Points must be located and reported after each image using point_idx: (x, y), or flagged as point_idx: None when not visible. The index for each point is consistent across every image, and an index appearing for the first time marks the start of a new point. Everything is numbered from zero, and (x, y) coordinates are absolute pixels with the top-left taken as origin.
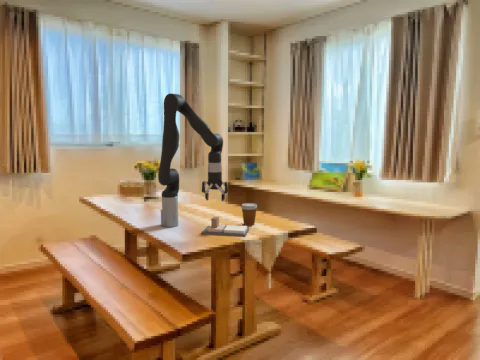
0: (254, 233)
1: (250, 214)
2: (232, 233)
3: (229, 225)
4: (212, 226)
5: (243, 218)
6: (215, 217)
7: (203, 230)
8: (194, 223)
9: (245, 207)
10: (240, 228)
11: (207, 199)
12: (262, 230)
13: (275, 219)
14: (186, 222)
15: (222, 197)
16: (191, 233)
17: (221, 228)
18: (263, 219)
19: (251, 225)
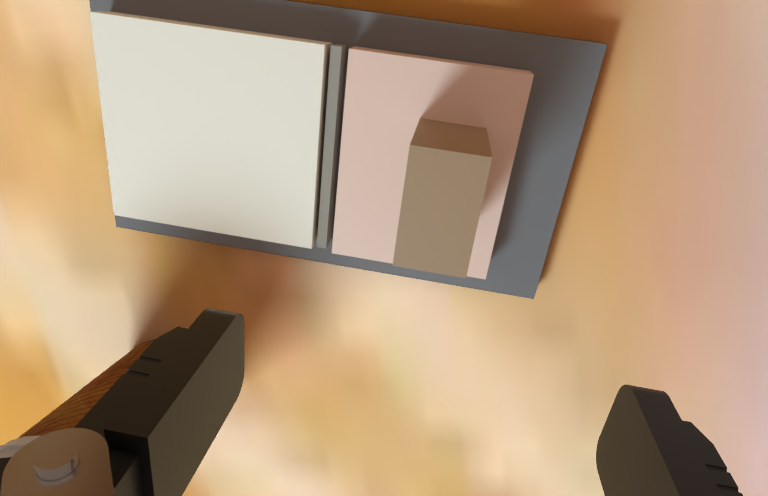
0: (48, 98)
1: (77, 402)
2: (231, 9)
3: (293, 232)
4: (473, 129)
5: None
6: (436, 229)
7: (581, 118)
8: None
9: None
10: (154, 116)
11: (636, 394)
12: (11, 202)
13: None
14: (759, 454)
15: (172, 360)
16: (729, 57)
17: (360, 96)
18: None
19: (141, 343)
